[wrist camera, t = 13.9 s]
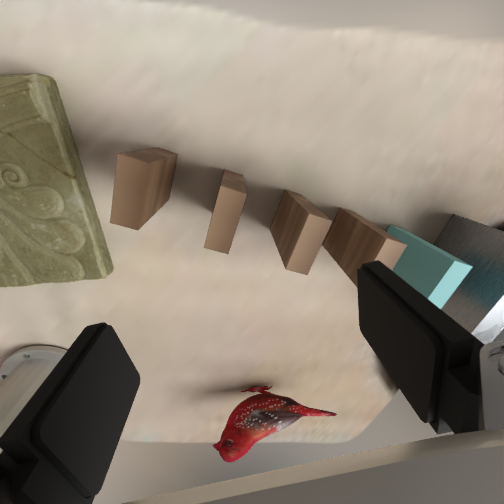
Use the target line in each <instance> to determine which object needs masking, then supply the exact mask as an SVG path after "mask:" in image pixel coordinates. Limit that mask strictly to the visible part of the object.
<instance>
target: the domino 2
mask: <svg viewBox="0 0 504 504" xmlns="http://www.w3.org/2000/svg"><path fill="white" fill-rule="evenodd" d="M246 197H247V191H246V187H245V183H244V179H243V175H240V174H237V173H234V172H231V171H228V170H224V174H223V178H222V181H221V185H220V189H219V192H218V196H217V200H216V203H215V207H214V211H213V214H212V218H211V222H210V226H209V229H208V233H207V237H206V241H205V244H204V248H207V249H211V250H214V251H218V252H222V253H226V254H228V253H229V250H230V247H231V244H232V241H233V237H234V234H235V231H236V228H237V225H238V222H239V219H240V215H241V212H242V209H243V206H244V203H245V200H246Z"/></svg>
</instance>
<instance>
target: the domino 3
mask: <svg viewBox="0 0 504 504" xmlns="http://www.w3.org/2000/svg"><path fill="white" fill-rule="evenodd" d="M331 224H332V220H330V219H329V218H328V217H327V216H326V215H325V214H323V213H322V212H321V211H320V210H319V209H318V208H316V207H315V206H314V205H313V204H312V203H311V202H309V201H308V200H307V199H306V198H305V197H303V196H302V195H301V194H298V193H295V192H292V191H289V190H286V189H285V191H284V194H283V196H282V199H281V202H280V204H279V207H278V210H277V212H276V215H275V218H274V220H273V223H272V226H271V228H270V231H271V233H272V236H273V238H274V241H275V244H276V246H277V249H278V251H279V254H280V256H281V259H282V261H283V264H284V266H285V269H286V270H290V271H294V272H297V273H301V274H305V275H308V273H309V271H310V268H311V266H312V264H313V262H314V260H315V258H316V256H317V253H318V251H319V249H320V247H321V245H322V243H323V241H324V238H325V236H326V234H327V232H328V230H329V228H330V226H331Z"/></svg>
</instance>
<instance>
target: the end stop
mask: <svg viewBox="0 0 504 504" xmlns="http://www.w3.org/2000/svg"><path fill="white" fill-rule="evenodd" d="M434 246H436V247H438V248H440V249H441V250H443V251H445V252H447V253H449V254H451V255H453V256H454V257H456V258H458V259H460V260H462V261H464V262H465V263H467V264H469V265H471V266H473V267H472V268H471V270H470V271H469V272H468V274H467V275H466V276H465V278H464V279H463V280H462V282H461V283H460V284H459V286H458V287H457V288H456V290H455V291H454V292H453V294H452V295H451V296H450V298H449V299H448V300H447V302H446V303H445V304H444V306H443V307H442V308H441V310H442V311H443V312H445V313H446V314H447V315H448V316H450V317H451V318H452V319H453V320H455V321H456V322H457V323H458V324H460V325H461V326H462V327H463V328H465V329H466V330H467V331H468V332H470V333H471V334H472V335H473V336H475V337H476V338H477V339H478V340H480V341H481V342H482V343H483V344H485V345H486V344H488V343H491V342H492V341H493V340H494V339H495V337H496V336H497V335H498V334H499V333H500V332H501V331H502V330H503V329H504V232H503V231H501V230H498V229H495V228H492V227H489V226H486V225H484V224H481V223H478V222H475V221H472V220H469V219H466V218H464V217H461V216H458V215H455V214H454V215H453V216H452V218H451V219H450V221H449V222H448V224H447V225H446V227H445V228H444V230H443V231H442V233H441V234H440V236H439V238H438V239H437V241H436V242H435V244H434Z"/></svg>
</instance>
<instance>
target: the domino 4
mask: <svg viewBox="0 0 504 504" xmlns="http://www.w3.org/2000/svg"><path fill="white" fill-rule="evenodd" d="M323 246H324V248H325V249H326V250H327V251H328V252H329V254H330V255H331V256H332V257H333V259H334V260H335V261H336V262H337V263H338V265H339V266H340V267H341V268H342V269H343V271H344V272H345V273H346V274H347V276H348V277H349V278H350V279H351V280H352V282H353V283H354V284H355V285H356V287H357V288H358V285H357V269H359V268H361V265H362V264H363V263H368V262H372V261H376V260H379V261H381V262H382V263H383V264H384V265H386V266H387V267H388V268H389V269H391V270H392V269H393V268H394V266H395V265H396V263H397V261H398V260H399V258H400V256H401V255H402V253H403V251H404V250H405V248H406V247H407V244H405V243H403V242H402V241H400V240H399V239H397V238H395V237H394V236H392V235H391V234H389V233H387V232H386V231H384V230H382V229H381V228H379V227H378V226H376V225H374V224H373V223H371V222H370V221H368V220H366V219H365V218H363V217H362V216H360V215H358V214H357V213H355V212H352V211H349V210H346V209H343V208H340V209H339V211H338V213H337V215H336V218H335V220H334V222H333V224H332V226H331V228H330V230H329V232H328V235H327V237H326V239H325V241H324V243H323Z"/></svg>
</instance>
